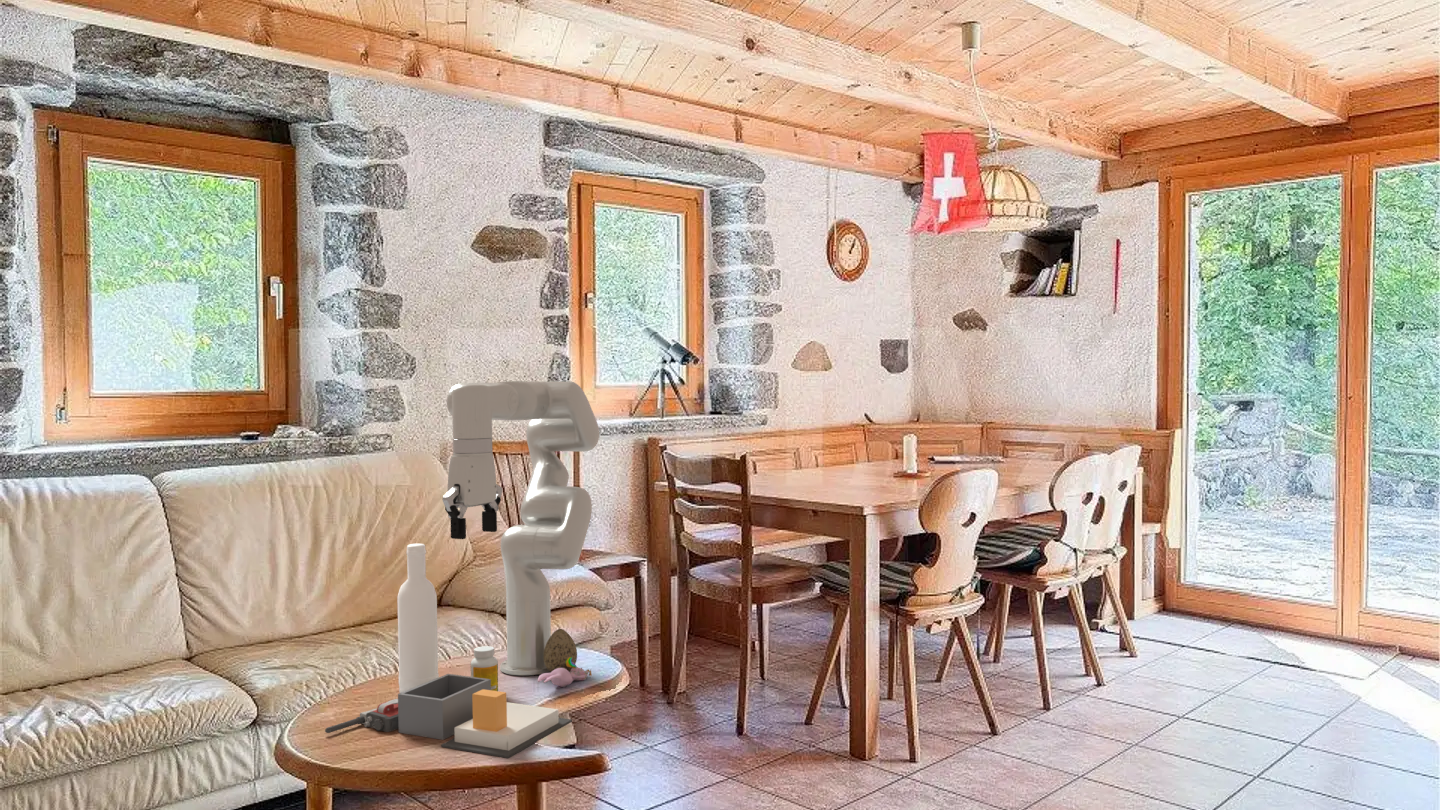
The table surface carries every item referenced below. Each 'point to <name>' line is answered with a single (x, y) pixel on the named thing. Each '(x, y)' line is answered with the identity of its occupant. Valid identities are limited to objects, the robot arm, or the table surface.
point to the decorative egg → (559, 651)
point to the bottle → (417, 623)
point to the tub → (438, 705)
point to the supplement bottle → (485, 665)
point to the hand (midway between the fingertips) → (474, 535)
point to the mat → (500, 752)
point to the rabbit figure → (565, 675)
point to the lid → (503, 721)
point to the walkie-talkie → (374, 718)
